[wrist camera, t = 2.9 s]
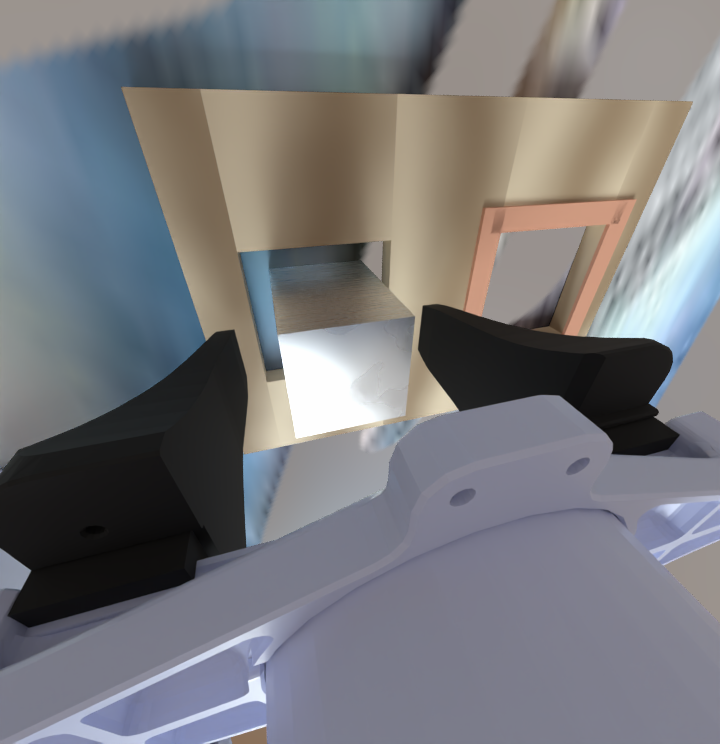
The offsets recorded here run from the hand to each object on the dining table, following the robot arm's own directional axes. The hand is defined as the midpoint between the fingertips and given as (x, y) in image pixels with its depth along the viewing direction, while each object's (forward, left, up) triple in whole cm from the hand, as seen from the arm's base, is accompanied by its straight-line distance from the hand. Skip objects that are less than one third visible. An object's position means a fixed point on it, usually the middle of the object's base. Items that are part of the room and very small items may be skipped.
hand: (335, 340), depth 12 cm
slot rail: (+5, 0, -3) cm, 6 cm away
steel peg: (0, 0, -3) cm, 3 cm away
